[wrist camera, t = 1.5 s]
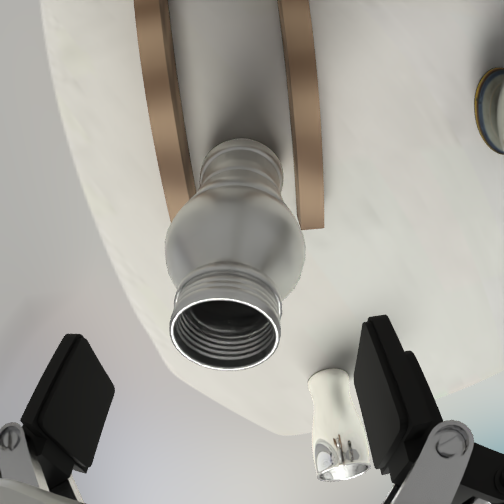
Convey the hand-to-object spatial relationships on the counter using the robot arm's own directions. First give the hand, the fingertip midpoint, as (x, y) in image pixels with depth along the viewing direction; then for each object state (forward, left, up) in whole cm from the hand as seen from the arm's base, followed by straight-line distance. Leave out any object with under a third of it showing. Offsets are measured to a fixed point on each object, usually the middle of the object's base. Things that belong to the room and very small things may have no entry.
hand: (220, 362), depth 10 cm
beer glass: (+31, +9, -21) cm, 38 cm away
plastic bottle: (0, 0, -21) cm, 21 cm away
